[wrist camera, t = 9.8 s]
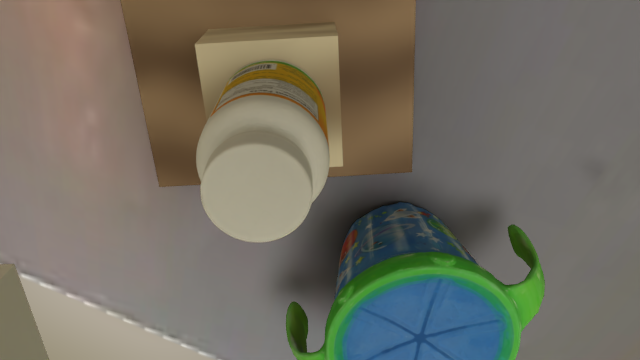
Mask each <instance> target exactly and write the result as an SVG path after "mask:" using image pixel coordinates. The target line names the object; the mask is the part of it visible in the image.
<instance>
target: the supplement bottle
mask: <svg viewBox="0 0 640 360" xmlns="http://www.w3.org/2000/svg"><path fill="white" fill-rule="evenodd" d="M329 163H330V153H329V142H328V131H327V121H326V110H325V104H324V99H323V96H322V93H321V91H320V89H319V87H318V85H317V84H316V82H315V81H314V80H313V79H312V78H311V77H310V76H309V75H308V74H307V73H306V72H305V71H304V70H302V69H301V68H299V67H298V66H296V65H294V64H292V63H289V62H286V61H281V60H260V61H256V62H253V63H250V64H248V65H246V66H244V67H243V68H241V69H240V70H238V71H237V72H236V73H235V74H234V75H233V76H232V77H231V78H230V79H229V81H228V82H227V84H226V85H225V87H224V89H223V91H222V92H221V94H220V96H219V99H218V101H217V103H216V105H215V107H214V109H213V111H212V113H211V115H210V117H209V119H208V121H207V123H206V124H205V126H204V129H203V131H202V133H201V136H200V138H199V142H198V145H197V151H196V165H197V171H198V175H199V178H200V181H201V186H200V194H201V200H202V204H203V207H204V210H205V212H206V213H207V215H208V217H209V218H210V220H211V221H212V222H213V223H214V224H215V225H216V226H217V227H218V228H219V229H220V230H222V231H223V232H225V233H226V234H228V235H230V236H232V237H234V238H237V239H240V240H243V241H248V242H268V241H273V240H277V239H279V238H282V237H284V236H286V235H288V234H290V233H291V232H292V231H294V230H295V229H296V228H297V227H298V226H299V225H300V224H301V223H302V222H303V221H304V219H305V218H306V216H307V214H308V212H309V210H310V207H311V203H312V202H313V201H314V200H315V199H316V198H317V197H318V195H319V194H320V192H321V191H322V189H323V187H324V185H325V182H326V180H327V177H328V172H329Z"/></svg>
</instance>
